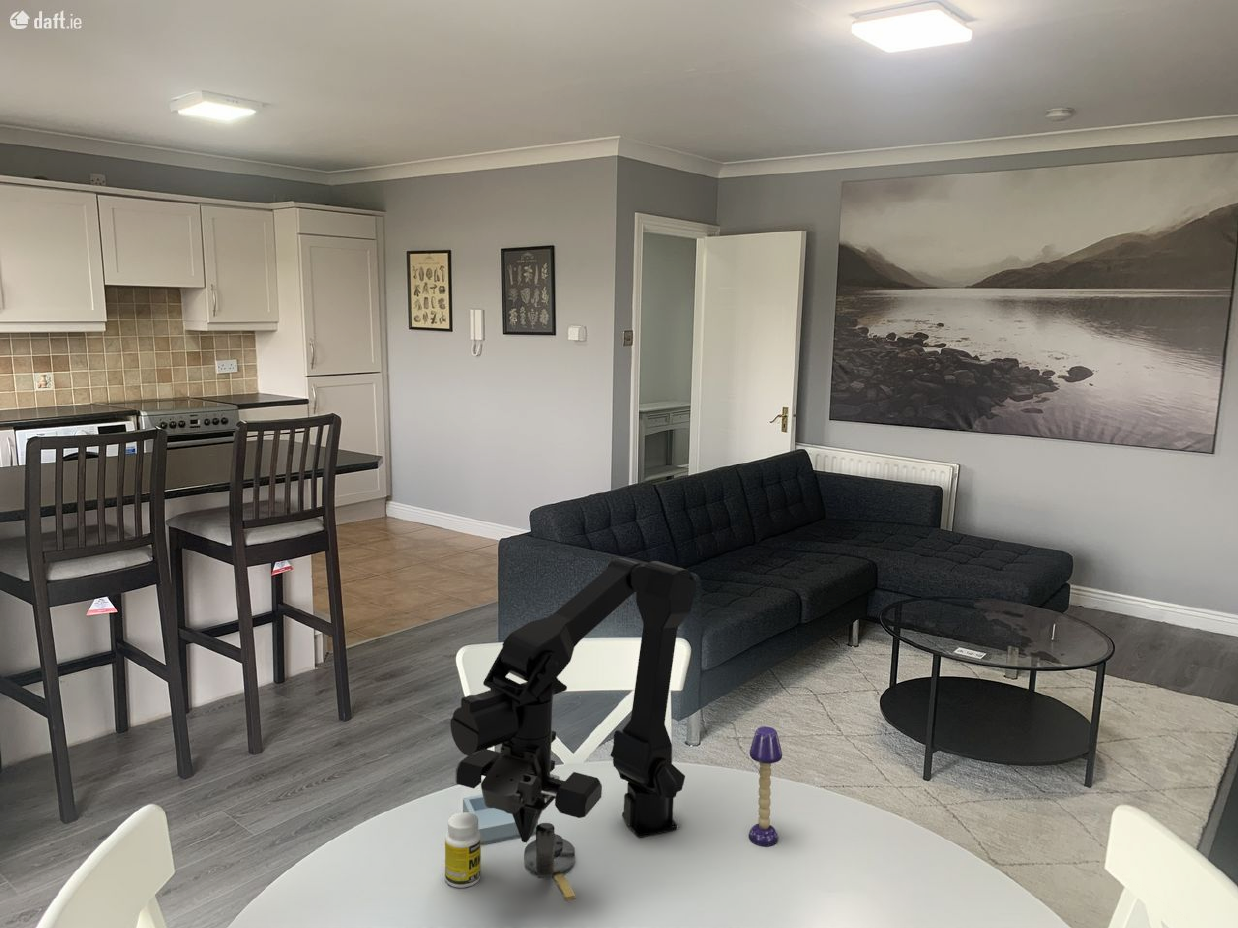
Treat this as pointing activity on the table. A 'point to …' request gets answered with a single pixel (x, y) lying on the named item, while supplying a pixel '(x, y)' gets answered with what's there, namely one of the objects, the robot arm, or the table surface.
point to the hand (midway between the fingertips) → (526, 840)
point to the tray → (491, 821)
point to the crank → (546, 849)
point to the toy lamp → (765, 782)
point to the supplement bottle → (462, 850)
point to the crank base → (561, 865)
